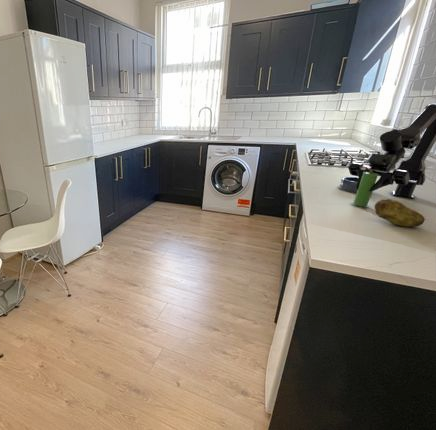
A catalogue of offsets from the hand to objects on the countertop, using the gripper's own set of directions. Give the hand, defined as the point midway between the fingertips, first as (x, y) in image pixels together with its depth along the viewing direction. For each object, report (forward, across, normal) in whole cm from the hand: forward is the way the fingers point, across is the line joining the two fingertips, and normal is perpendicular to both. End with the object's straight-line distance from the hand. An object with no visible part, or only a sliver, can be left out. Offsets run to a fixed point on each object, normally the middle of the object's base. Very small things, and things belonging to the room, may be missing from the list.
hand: (363, 189), depth 111 cm
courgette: (+4, 0, +6) cm, 7 cm away
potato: (+11, +15, -1) cm, 19 cm away
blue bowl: (-12, -14, +22) cm, 29 cm away
